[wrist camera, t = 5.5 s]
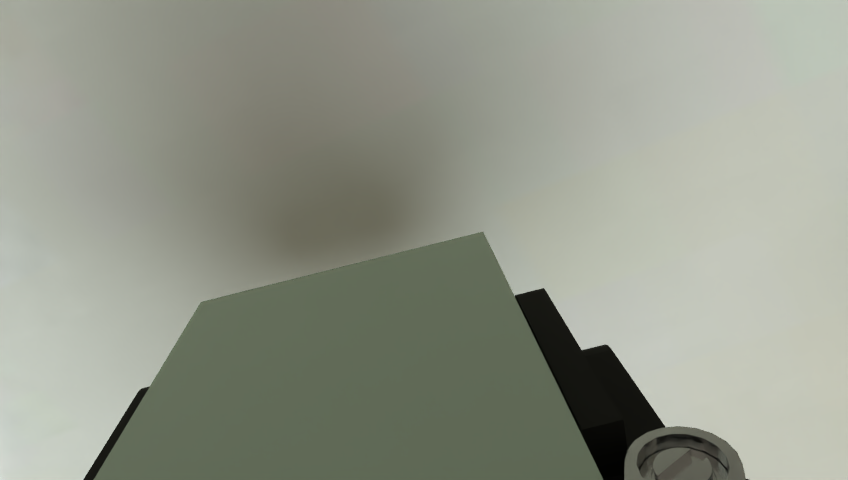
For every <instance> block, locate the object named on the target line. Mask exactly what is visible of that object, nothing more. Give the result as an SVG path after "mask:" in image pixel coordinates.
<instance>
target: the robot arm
mask: <svg viewBox="0 0 848 480" xmlns="http://www.w3.org/2000/svg"><path fill="white" fill-rule="evenodd" d="M515 299H516V301H517V303H518V305H519V307H520V309H521V311H522V313H523V315H524V317H525V319H526V321H527V323H528V325H529V327H530V329H531V332H532V334H533V336H534V338H535V340H536V342H537V344H538V346H539V348H540V350H541V352H542V354H543V356H544V358H545V360H546V362H547V365H548V367H549V369H550V371H551V373H552V375H553V377H554V379H555V381H556V383H557V385H558V387H559V389H560V391H561V393H562V395H563V397H564V400H565V402H566V404H567V406H568V408H569V410H570V412H571V414H572V416H573V418H574V420H575V422H576V424H577V426H578V428H579V430H580V432H581V435H582V437H583V439H584V441H585V443H586V445H587V447H588V449H589V451H590V453H591V455H592V457H593V459H594V461H595V463H596V465H597V468H598V470H599V472H600V474H601V476H602V478H603V480H748V479H746V478H745V473H744V469H743V464H742V462H741V460H740V458H739V456H738V453H737V452H736V451H735V450H734V449H733V448H732V447H731V446H730V445H729V444H728V443H727V442H726V441H725V440H723V439H721V438H719V437H718V436H716V435H714V434H712V433H710V432H706V431H703V430H700V429H697V428H690V427H680V426H676V427H665V426H664V424H663V423H662V421H661V420H660V419H659V417H658V416H657V414H656V413H655V411H654V410H653V409H652V407H651V406H650V404H649V403H648V401H647V400H646V398H645V397H644V396H643V394H642V393H641V391H640V390H639V388H638V387H637V385H636V384H635V383H634V381H633V380H632V378H631V377H630V375H629V374H628V373H627V371H626V370H625V368H624V367H623V365H622V364H621V362H620V361H619V360H618V358H617V357H616V355H615V354H614V352H613V351H612V349H611V348H610V347H609V346H608V345H602V346H598V347H594V348H589V349H585V350H581V349H580V347H579V345H578V344H577V342H576V340H575V339H574V337H573V335H572V334H571V332H570V330H569V329H568V327H567V325H566V324H565V322H564V320H563V319H562V317H561V316H560V314H559V312H558V311H557V309H556V307H555V306H554V304H553V302H552V301H551V299H550V297H549V296H548V294H547V292H546V291H545V289H544V288H543V289H539V290H535V291H531V292H527V293H523V294H519V295H515ZM148 389H149V387H146V388H142V389H141V390H140V391H139V392H138V393H137V395H136V396H135V398H134V400H133V401H132V403H131V404H130V406H129V408H128V409H127V411H126V412H125V414H124V416H123V417H122V419H121V420H120V422H119V424H118V425H117V427H116V428H115V430H114V432H113V433H112V435H111V436H110V438H109V440H108V441H107V443H106V444H105V446H104V448H103V449H102V451H101V452H100V454H99V456H98V457H97V459H96V460H95V462H94V464H93V465H92V467H91V468H90V470H89V472H88V473H87V475H86V476H85V478H84V480H94V478H95V477H96V475H97V473H98V472H99V470H100V468H101V467H102V465H103V463H104V462H105V460H106V458H107V457H108V455H109V453H110V452H111V450H112V449H113V447H114V445H115V444H116V442H117V440H118V439H119V437H120V435H121V434H122V432H123V430H124V429H125V427H126V425H127V424H128V422H129V420H130V419H131V417H132V415H133V414H134V412H135V410H136V409H137V407H138V405H139V404H140V402H141V401H142V399H143V397H144V396H145V394H146V392H147V391H148Z"/></svg>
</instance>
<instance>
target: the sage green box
mask: <svg viewBox="0 0 848 480" xmlns="http://www.w3.org/2000/svg"><path fill="white" fill-rule="evenodd" d="M94 480H603V478H602V476H601V474H600V472H599V470H598V468H597V465H596V463H595V461H594V459H593V457H592V455H591V453H590V451H589V449H588V447H587V445H586V443H585V441H584V439H583V437H582V435H581V432H580V430H579V428H578V426H577V424H576V422H575V420H574V418H573V416H572V414H571V412H570V410H569V408H568V406H567V404H566V402H565V400H564V397H563V395H562V393H561V391H560V389H559V387H558V385H557V383H556V381H555V379H554V377H553V375H552V373H551V371H550V369H549V367H548V365H547V362H546V360H545V358H544V356H543V354H542V352H541V350H540V348H539V346H538V344H537V342H536V340H535V338H534V336H533V334H532V332H531V329H530V327H529V325H528V323H527V321H526V319H525V317H524V315H523V313H522V311H521V309H520V307H519V305H518V303H517V301H516V299H515V297H514V294H513V292H512V290H511V288H510V286H509V284H508V282H507V280H506V278H505V276H504V274H503V272H502V270H501V268H500V266H499V264H498V262H497V259H496V257H495V255H494V253H493V251H492V249H491V247H490V245H489V243H488V241H487V239H486V237H485V235H484V233H483V232H480V233H476V234H472V235H468V236H464V237H460V238H456V239H452V240H448V241H444V242H440V243H436V244H432V245H428V246H424V247H420V248H416V249H412V250H408V251H404V252H400V253H396V254H392V255H388V256H384V257H380V258H376V259H372V260H368V261H364V262H360V263H356V264H352V265H348V266H344V267H340V268H336V269H332V270H328V271H324V272H320V273H316V274H312V275H308V276H304V277H300V278H296V279H292V280H288V281H284V282H280V283H276V284H272V285H268V286H264V287H260V288H256V289H252V290H248V291H243V292H239V293H235V294H231V295H227V296H223V297H219V298H215V299H211V300H207V301H203V302H201V303H200V305H199V306H198V308H197V310H196V311H195V313H194V314H193V316H192V318H191V319H190V321H189V323H188V324H187V326H186V328H185V329H184V331H183V333H182V334H181V336H180V338H179V339H178V341H177V343H176V344H175V346H174V348H173V349H172V351H171V353H170V354H169V356H168V357H167V359H166V361H165V362H164V364H163V366H162V367H161V369H160V371H159V372H158V374H157V376H156V377H155V379H154V381H153V382H152V384H151V386H150V387H149V389H148V391H147V392H146V394H145V396H144V397H143V399H142V401H141V402H140V404H139V405H138V407H137V409H136V410H135V412H134V414H133V415H132V417H131V419H130V420H129V422H128V424H127V425H126V427H125V429H124V430H123V432H122V434H121V435H120V437H119V439H118V440H117V442H116V444H115V445H114V447H113V449H112V450H111V452H110V453H109V455H108V457H107V458H106V460H105V462H104V463H103V465H102V467H101V468H100V470H99V472H98V473H97V475H96V477H95V478H94Z"/></svg>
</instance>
